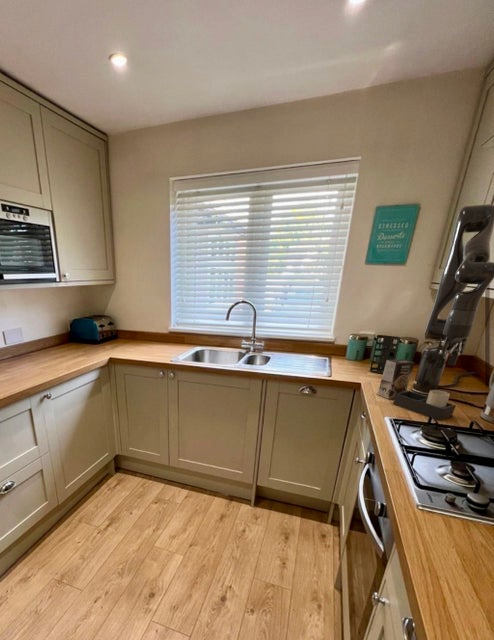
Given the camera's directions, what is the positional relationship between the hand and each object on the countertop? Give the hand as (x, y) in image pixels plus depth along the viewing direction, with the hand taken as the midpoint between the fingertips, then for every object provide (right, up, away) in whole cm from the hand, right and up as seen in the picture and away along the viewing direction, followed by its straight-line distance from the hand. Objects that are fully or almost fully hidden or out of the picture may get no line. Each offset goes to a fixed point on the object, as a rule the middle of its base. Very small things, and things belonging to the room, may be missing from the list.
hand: (444, 366), depth 123 cm
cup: (0, -17, +6) cm, 18 cm away
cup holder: (-2, -16, +10) cm, 19 cm away
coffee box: (-5, -11, +24) cm, 27 cm away
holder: (+11, +3, +59) cm, 60 cm away
